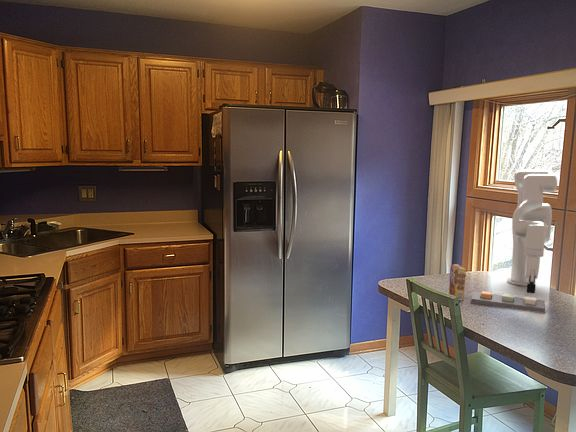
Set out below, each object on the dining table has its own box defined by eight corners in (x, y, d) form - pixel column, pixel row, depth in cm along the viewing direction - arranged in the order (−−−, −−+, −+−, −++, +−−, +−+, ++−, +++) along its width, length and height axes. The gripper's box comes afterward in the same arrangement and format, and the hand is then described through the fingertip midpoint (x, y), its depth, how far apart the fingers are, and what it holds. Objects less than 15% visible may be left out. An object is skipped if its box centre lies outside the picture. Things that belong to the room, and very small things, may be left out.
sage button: (502, 298, 220) (502, 293, 219) (513, 299, 218) (513, 294, 218) (502, 300, 216) (502, 296, 216) (512, 302, 214) (513, 297, 214)
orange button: (481, 295, 224) (481, 290, 223) (491, 296, 222) (492, 292, 221) (480, 297, 220) (481, 293, 220) (491, 299, 218) (491, 294, 218)
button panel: (473, 295, 229) (473, 291, 229) (544, 304, 216) (544, 300, 216) (470, 302, 218) (471, 298, 218) (545, 313, 205) (545, 308, 205)
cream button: (524, 300, 216) (524, 296, 216) (535, 302, 214) (535, 297, 214) (524, 303, 212) (524, 298, 212) (535, 305, 210) (535, 300, 210)
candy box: (464, 300, 221) (466, 268, 219) (455, 300, 221) (457, 268, 219) (457, 294, 230) (458, 264, 228) (448, 295, 230) (450, 264, 228)
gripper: (524, 248, 218) (521, 287, 220) (524, 254, 204) (521, 295, 207) (543, 249, 214) (539, 289, 217) (544, 256, 201) (540, 298, 204)
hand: (530, 292), depth 212 cm, fingers closed
